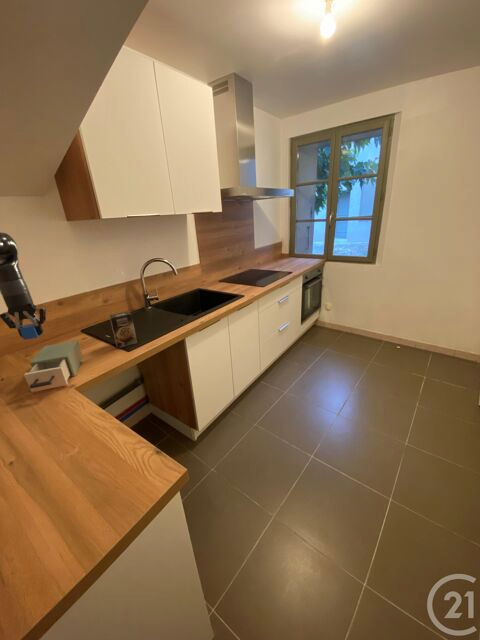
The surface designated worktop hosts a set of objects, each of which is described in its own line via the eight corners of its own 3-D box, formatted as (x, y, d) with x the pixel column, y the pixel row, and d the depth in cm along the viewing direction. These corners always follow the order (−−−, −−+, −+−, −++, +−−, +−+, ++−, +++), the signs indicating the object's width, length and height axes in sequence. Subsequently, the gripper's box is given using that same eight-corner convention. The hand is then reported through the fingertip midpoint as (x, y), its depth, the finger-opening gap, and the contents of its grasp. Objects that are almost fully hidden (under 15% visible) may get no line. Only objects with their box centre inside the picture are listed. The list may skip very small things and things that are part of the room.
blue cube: (23, 339, 96) (19, 328, 94) (28, 335, 100) (24, 324, 98) (37, 337, 97) (33, 326, 96) (41, 333, 101) (37, 322, 100)
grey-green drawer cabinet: (75, 376, 103) (68, 356, 100) (38, 383, 100) (30, 362, 97) (83, 359, 116) (77, 340, 113) (51, 364, 113) (44, 346, 110)
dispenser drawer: (63, 392, 92) (56, 375, 89) (25, 400, 89) (17, 382, 86) (76, 367, 108) (71, 351, 105) (45, 372, 105) (39, 356, 102)
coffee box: (118, 350, 122) (110, 318, 116) (116, 345, 127) (108, 314, 121) (138, 345, 126) (131, 313, 121) (135, 340, 132) (128, 310, 126)
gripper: (42, 287, 97) (57, 328, 104) (-4, 292, 94) (14, 335, 100) (34, 291, 91) (51, 336, 97) (-15, 297, 87) (5, 343, 93)
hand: (32, 335), depth 98 cm, fingers closed on blue cube, 4 cm apart
